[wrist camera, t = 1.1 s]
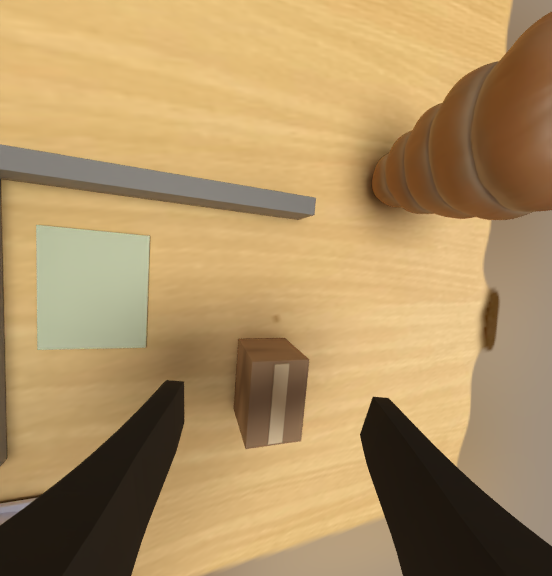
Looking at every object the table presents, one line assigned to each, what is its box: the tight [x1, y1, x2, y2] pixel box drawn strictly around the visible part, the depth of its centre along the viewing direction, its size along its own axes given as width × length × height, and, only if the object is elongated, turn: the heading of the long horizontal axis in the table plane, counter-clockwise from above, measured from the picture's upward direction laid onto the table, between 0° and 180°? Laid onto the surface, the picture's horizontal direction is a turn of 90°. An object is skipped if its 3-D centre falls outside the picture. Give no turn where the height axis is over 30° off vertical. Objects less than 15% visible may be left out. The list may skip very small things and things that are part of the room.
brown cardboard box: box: [234, 338, 309, 449], centre depth 21 cm, size 6×4×5 cm, turn 175°
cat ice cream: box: [372, 12, 552, 220], centre depth 16 cm, size 9×8×18 cm
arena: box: [0, 145, 316, 466], centre depth 18 cm, size 19×20×3 cm
